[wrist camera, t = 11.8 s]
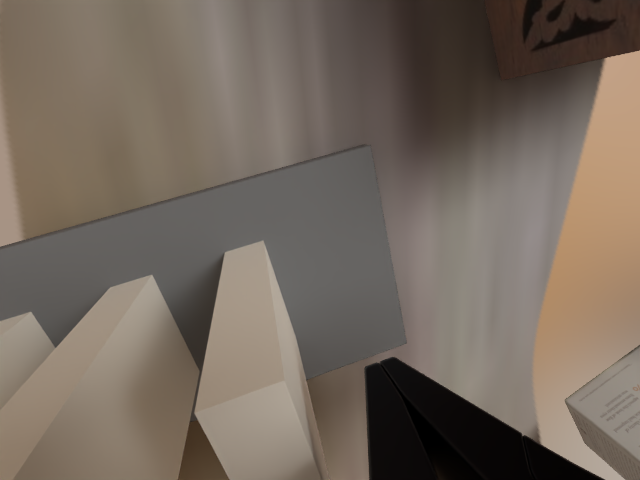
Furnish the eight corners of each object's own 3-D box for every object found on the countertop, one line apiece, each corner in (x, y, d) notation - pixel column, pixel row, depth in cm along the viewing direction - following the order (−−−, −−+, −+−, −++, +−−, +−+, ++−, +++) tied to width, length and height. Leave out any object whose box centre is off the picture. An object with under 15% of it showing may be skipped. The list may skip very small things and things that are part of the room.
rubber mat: (399, 334, 17) (406, 343, 16) (-147, 530, 14) (-168, 553, 13) (363, 144, 14) (370, 145, 13) (-376, 352, 10) (-424, 369, 10)
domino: (152, 274, 13) (12, 479, 5) (199, 371, 14) (148, 627, 7) (110, 287, 12) (-98, 519, 5) (163, 384, 14) (70, 661, 7)
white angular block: (263, 240, 13) (284, 380, 6) (296, 338, 15) (345, 542, 7) (224, 252, 13) (194, 413, 5) (262, 349, 15) (278, 571, 7)
